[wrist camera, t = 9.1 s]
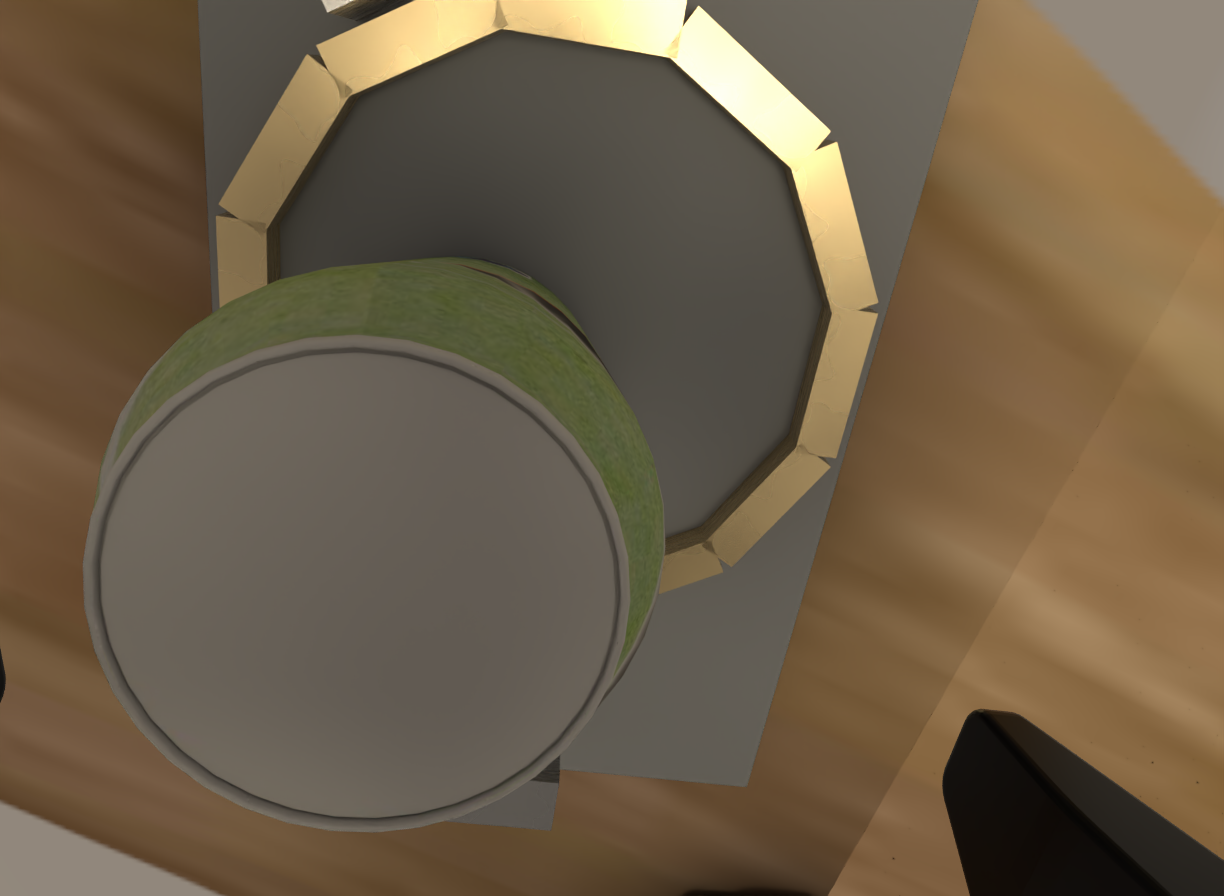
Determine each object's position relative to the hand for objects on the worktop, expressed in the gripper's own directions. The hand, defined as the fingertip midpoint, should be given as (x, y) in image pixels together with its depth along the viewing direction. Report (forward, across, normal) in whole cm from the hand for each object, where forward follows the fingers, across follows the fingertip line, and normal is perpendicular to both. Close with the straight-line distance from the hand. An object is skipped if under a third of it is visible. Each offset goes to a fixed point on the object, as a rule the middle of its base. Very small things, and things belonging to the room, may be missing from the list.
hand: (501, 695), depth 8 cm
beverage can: (+12, +2, +1) cm, 12 cm away
